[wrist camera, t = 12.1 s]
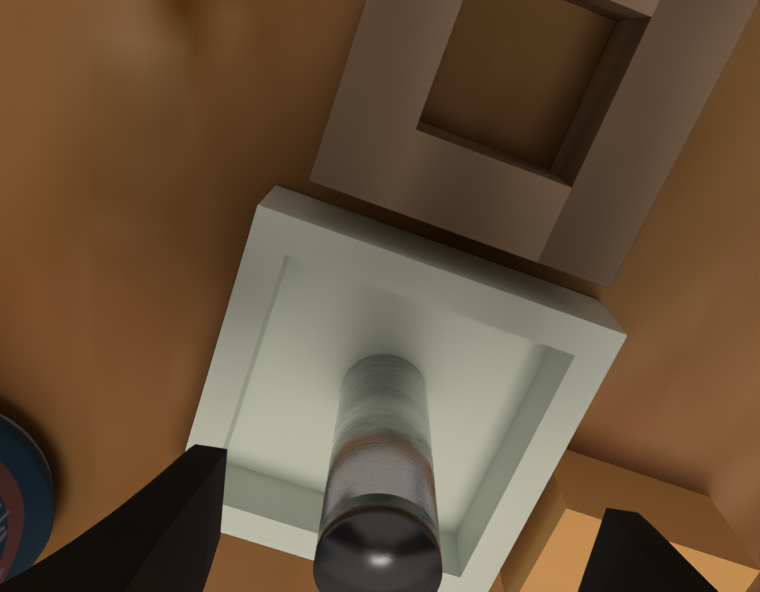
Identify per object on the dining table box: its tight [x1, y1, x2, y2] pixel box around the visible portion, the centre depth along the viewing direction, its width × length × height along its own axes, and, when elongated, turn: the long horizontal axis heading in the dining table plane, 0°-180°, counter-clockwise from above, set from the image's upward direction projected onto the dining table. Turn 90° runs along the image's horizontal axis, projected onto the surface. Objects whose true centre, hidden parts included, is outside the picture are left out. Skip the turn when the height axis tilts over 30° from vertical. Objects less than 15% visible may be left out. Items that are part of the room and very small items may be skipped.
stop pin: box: [313, 354, 443, 592], centre depth 17 cm, size 3×3×7 cm
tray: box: [185, 185, 627, 592], centre depth 20 cm, size 10×10×2 cm
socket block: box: [309, 0, 759, 289], centre depth 16 cm, size 8×8×2 cm
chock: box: [500, 449, 760, 592], centre depth 21 cm, size 6×4×4 cm, turn 71°
